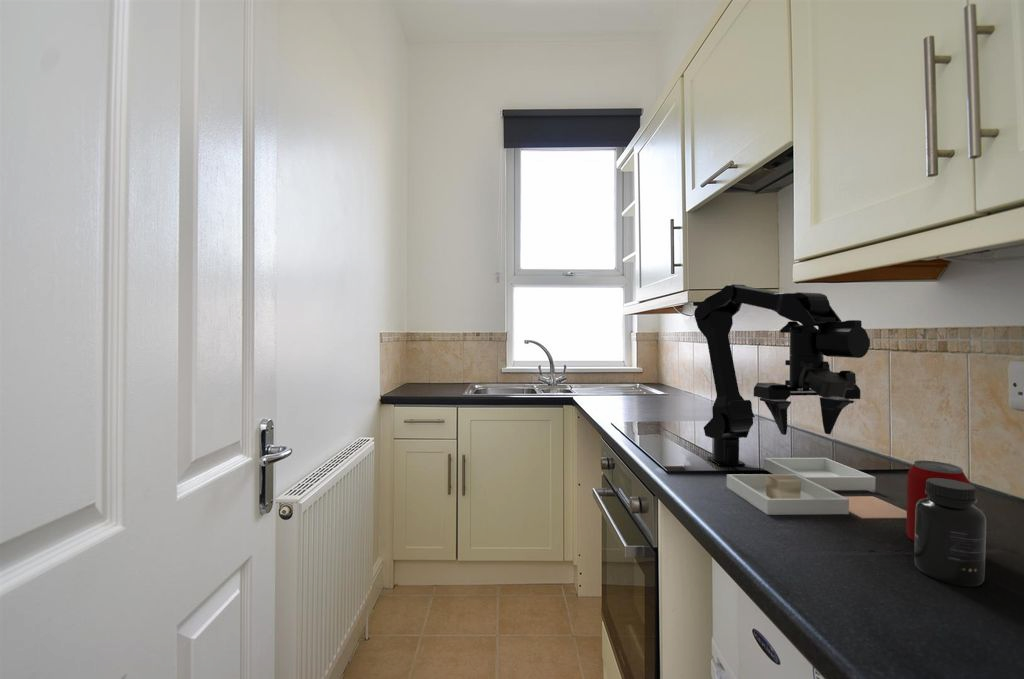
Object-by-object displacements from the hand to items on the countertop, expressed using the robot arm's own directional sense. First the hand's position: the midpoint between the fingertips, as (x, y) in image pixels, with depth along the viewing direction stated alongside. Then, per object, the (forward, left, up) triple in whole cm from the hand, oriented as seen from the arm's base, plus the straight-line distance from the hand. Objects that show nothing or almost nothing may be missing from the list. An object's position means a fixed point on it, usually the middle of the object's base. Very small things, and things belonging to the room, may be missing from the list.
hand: (805, 434), depth 94 cm
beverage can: (+24, +4, -11) cm, 27 cm away
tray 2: (-6, +6, -11) cm, 14 cm away
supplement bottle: (+32, -2, -11) cm, 34 cm away
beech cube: (+6, -8, -11) cm, 15 cm away
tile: (+10, +5, -11) cm, 16 cm away
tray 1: (+6, -8, -11) cm, 15 cm away
